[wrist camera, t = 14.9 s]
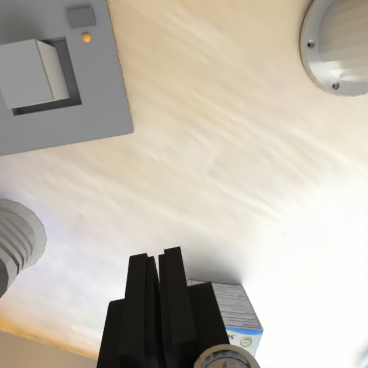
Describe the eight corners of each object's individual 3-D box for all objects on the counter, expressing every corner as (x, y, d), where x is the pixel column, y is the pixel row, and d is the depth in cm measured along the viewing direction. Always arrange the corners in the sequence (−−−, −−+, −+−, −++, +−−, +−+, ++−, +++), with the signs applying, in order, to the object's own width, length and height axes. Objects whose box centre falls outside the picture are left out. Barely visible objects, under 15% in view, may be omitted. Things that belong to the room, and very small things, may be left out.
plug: (55, 47, 31) (34, 38, 26) (70, 97, 33) (53, 100, 27) (15, 54, 31) (-15, 47, 26) (32, 105, 33) (7, 109, 27)
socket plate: (105, -9, 31) (101, -17, 28) (134, 130, 35) (132, 133, 33) (-59, 16, 30) (-78, 9, 28) (-9, 155, 34) (-21, 160, 32)
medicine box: (181, 305, 43) (188, 356, 35) (187, 277, 42) (197, 324, 34) (235, 310, 44) (254, 361, 36) (243, 283, 43) (265, 330, 35)
